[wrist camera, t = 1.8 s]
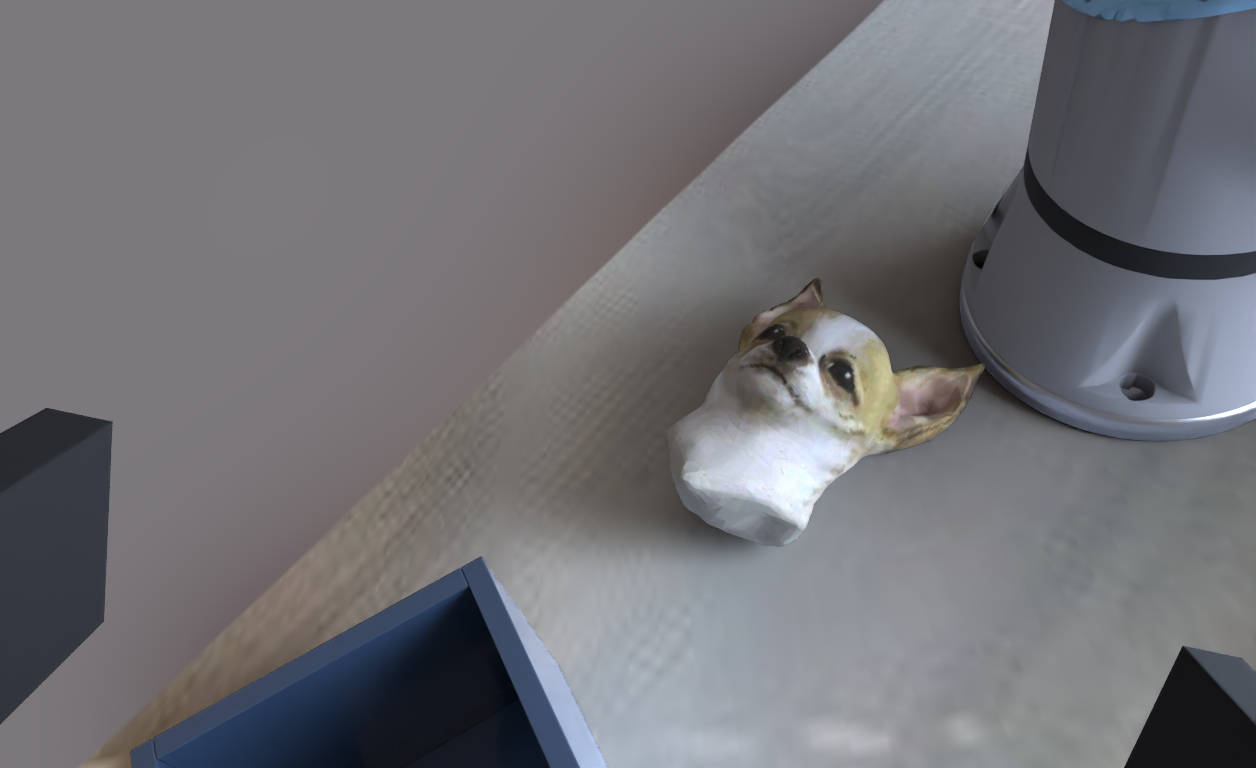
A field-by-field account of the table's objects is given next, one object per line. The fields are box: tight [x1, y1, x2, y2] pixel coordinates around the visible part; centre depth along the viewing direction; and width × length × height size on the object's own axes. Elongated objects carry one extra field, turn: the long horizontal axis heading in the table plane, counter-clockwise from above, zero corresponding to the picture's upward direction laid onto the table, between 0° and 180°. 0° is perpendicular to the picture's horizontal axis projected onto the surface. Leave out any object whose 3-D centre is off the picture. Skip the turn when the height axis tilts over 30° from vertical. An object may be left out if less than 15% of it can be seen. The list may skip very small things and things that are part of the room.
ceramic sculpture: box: [665, 277, 985, 547], centre depth 41 cm, size 11×9×15 cm
